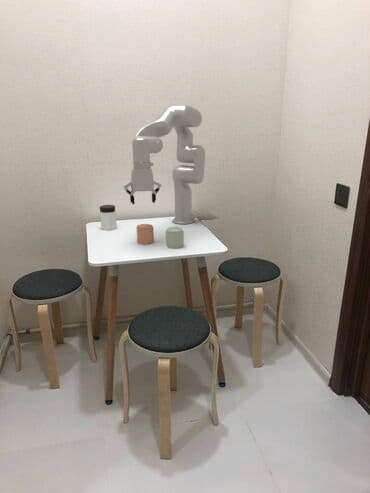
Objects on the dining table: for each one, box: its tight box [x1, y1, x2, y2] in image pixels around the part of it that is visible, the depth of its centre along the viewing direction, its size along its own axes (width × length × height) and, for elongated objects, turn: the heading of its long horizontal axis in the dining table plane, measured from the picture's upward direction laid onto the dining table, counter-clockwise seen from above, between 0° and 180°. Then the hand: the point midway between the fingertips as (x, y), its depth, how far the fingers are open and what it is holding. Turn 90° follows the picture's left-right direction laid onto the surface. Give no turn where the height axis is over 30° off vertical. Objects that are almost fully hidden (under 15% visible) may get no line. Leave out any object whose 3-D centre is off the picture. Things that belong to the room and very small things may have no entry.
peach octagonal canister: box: [135, 223, 155, 246], centre depth 188 cm, size 8×8×8 cm
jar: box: [99, 204, 118, 231], centre depth 212 cm, size 9×8×12 cm
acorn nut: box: [165, 226, 185, 249], centre depth 182 cm, size 8×8×8 cm
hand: (143, 203), depth 183 cm, fingers open, 9 cm apart
